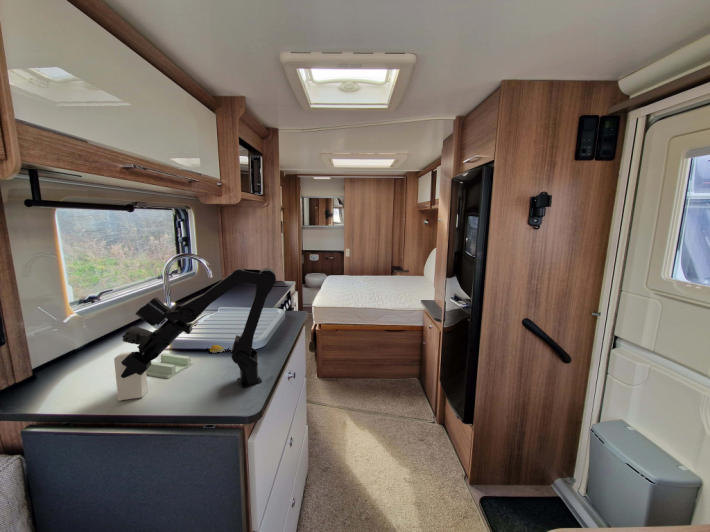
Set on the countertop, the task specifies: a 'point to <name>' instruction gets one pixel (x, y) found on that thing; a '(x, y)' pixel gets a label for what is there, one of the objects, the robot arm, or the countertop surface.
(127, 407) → the countertop surface
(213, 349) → the bread roll
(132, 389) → the beige rectangular box
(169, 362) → the tile rack
